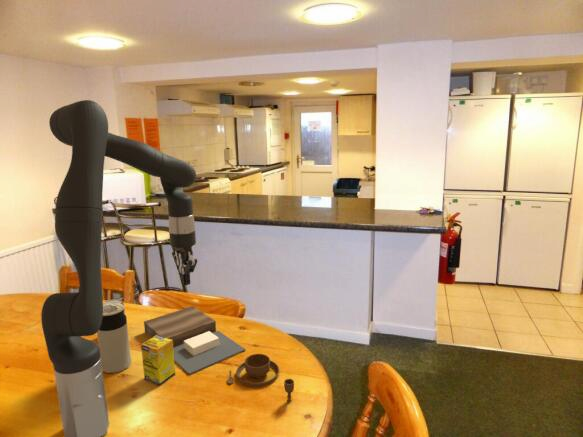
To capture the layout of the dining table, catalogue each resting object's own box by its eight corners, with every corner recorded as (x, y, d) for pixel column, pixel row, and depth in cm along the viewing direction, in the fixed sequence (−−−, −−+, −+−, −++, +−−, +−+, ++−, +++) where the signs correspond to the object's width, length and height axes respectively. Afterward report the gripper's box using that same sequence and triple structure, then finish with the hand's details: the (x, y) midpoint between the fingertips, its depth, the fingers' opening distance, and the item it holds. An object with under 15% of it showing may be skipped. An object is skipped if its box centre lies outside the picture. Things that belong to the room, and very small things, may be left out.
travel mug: (108, 377, 114) (101, 317, 110) (97, 366, 120) (89, 309, 116) (136, 365, 120) (130, 308, 116) (124, 355, 125) (117, 300, 121)
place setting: (286, 361, 122) (286, 343, 121) (298, 405, 103) (297, 384, 101) (227, 366, 119) (226, 348, 118) (227, 413, 100) (225, 391, 99)
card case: (209, 331, 133) (209, 338, 134) (183, 340, 127) (184, 348, 128) (219, 337, 129) (219, 345, 129) (193, 348, 123) (193, 355, 123)
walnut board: (216, 331, 139) (215, 320, 138) (165, 351, 127) (164, 339, 126) (193, 316, 150) (192, 305, 150) (144, 332, 139) (143, 321, 138)
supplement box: (144, 380, 113) (140, 344, 110) (160, 369, 118) (157, 334, 115) (160, 386, 110) (156, 349, 107) (175, 374, 115) (173, 339, 113)
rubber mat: (245, 350, 127) (245, 349, 127) (189, 375, 115) (189, 373, 115) (218, 331, 139) (218, 330, 138) (164, 352, 126) (164, 350, 126)
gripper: (161, 227, 125) (165, 281, 129) (180, 236, 115) (184, 293, 119) (184, 224, 130) (187, 275, 134) (204, 231, 120) (207, 287, 124)
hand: (186, 284), depth 127 cm, fingers closed
